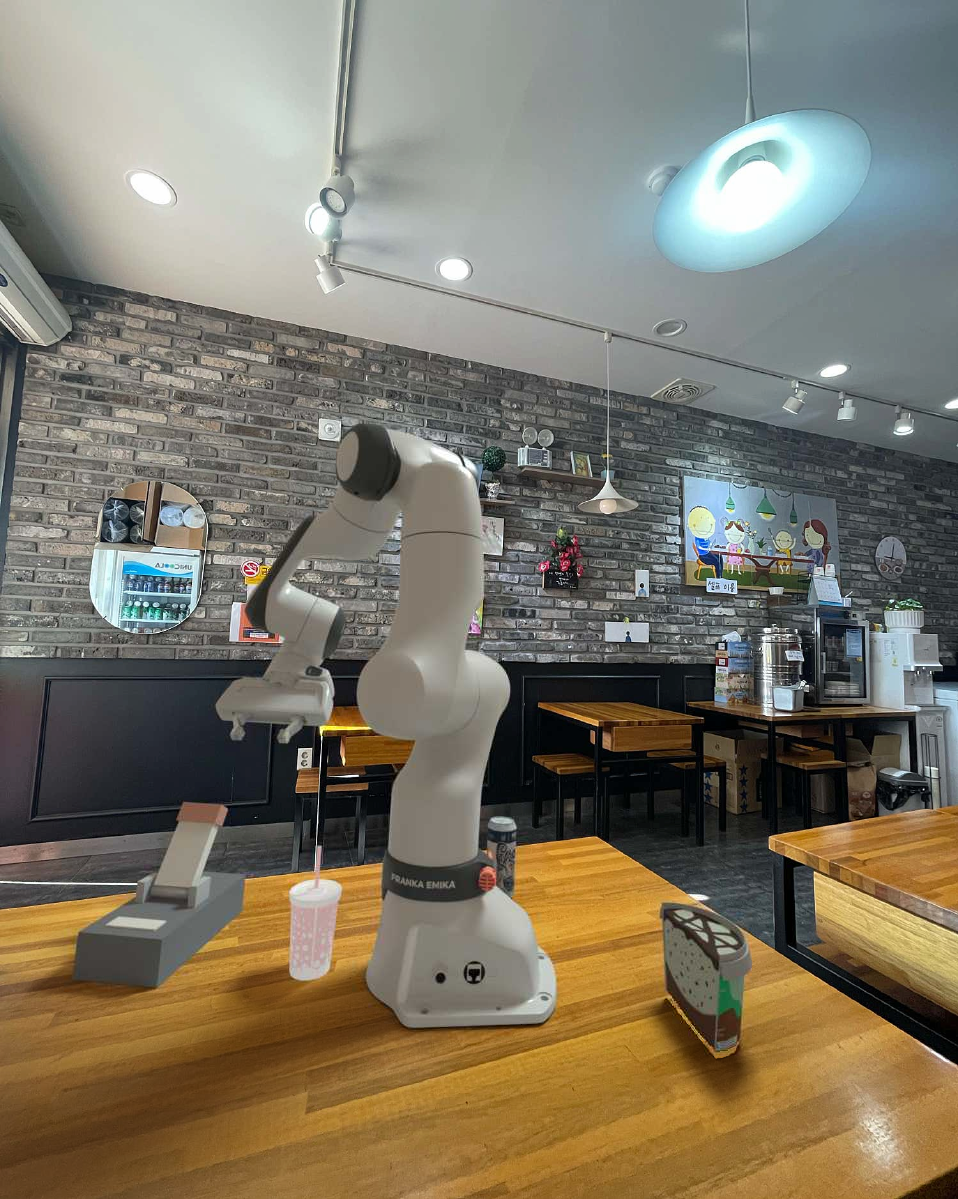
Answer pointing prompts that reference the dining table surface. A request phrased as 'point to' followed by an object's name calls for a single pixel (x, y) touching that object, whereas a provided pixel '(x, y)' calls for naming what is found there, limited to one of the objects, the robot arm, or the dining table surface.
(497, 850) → the beer can
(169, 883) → the lever
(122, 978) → the switch panel
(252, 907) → the dining table surface
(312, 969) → the beverage cup
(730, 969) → the food container
